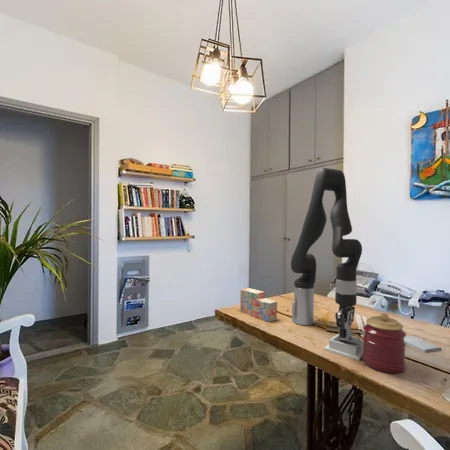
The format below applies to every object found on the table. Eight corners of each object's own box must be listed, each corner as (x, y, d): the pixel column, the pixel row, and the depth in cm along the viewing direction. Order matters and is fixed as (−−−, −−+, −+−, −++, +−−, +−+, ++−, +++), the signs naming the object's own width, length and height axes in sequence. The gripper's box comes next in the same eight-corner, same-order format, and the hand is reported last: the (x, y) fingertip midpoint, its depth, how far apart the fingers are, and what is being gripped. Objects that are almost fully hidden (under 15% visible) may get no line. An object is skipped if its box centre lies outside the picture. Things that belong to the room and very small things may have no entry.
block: (341, 343, 113) (336, 317, 114) (345, 340, 116) (340, 314, 117) (357, 345, 109) (351, 317, 110) (361, 341, 112) (355, 314, 113)
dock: (323, 349, 114) (323, 339, 114) (335, 341, 122) (335, 332, 122) (359, 360, 105) (359, 350, 105) (368, 350, 113) (369, 340, 113)
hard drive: (441, 347, 114) (412, 335, 126) (424, 349, 112) (397, 337, 124) (441, 351, 115) (412, 339, 126) (424, 354, 112) (397, 341, 124)
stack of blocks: (277, 320, 148) (277, 295, 148) (268, 322, 144) (268, 297, 144) (248, 309, 165) (249, 287, 165) (240, 311, 161) (240, 288, 161)
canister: (378, 353, 111) (378, 306, 111) (413, 368, 100) (414, 316, 100) (354, 360, 105) (355, 310, 105) (389, 377, 94) (390, 322, 94)
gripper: (343, 286, 121) (342, 328, 122) (328, 292, 111) (327, 338, 111) (362, 289, 116) (361, 333, 117) (349, 296, 106) (348, 344, 106)
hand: (344, 335), depth 114 cm, fingers closed on block, 4 cm apart
